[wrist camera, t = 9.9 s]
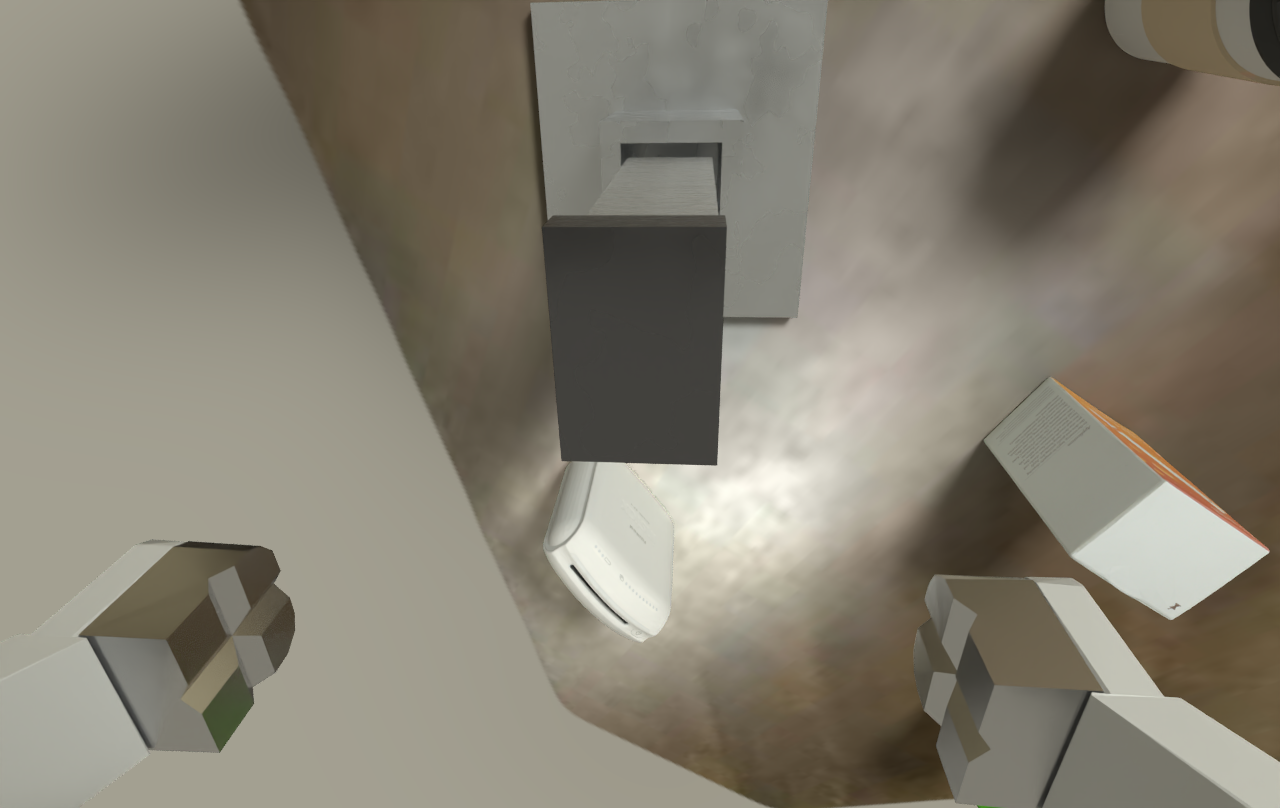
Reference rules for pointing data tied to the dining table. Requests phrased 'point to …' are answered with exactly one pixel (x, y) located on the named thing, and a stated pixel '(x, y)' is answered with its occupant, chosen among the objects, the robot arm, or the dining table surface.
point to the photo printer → (613, 547)
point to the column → (640, 316)
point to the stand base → (691, 117)
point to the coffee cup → (1202, 35)
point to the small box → (1119, 503)
